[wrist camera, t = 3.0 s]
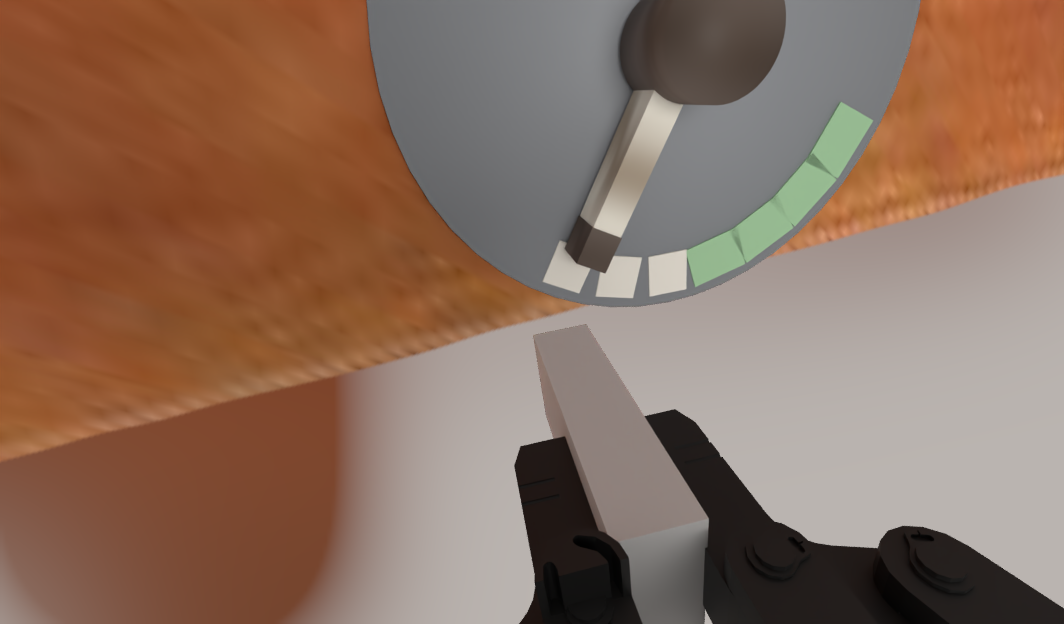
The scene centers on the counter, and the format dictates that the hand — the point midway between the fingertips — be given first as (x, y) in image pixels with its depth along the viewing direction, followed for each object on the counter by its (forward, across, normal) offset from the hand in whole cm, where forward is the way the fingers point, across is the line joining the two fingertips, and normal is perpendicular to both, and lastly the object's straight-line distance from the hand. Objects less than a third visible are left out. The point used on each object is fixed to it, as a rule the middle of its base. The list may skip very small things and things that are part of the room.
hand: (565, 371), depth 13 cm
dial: (+14, +9, +8) cm, 19 cm away
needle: (+13, +7, +4) cm, 16 cm away
